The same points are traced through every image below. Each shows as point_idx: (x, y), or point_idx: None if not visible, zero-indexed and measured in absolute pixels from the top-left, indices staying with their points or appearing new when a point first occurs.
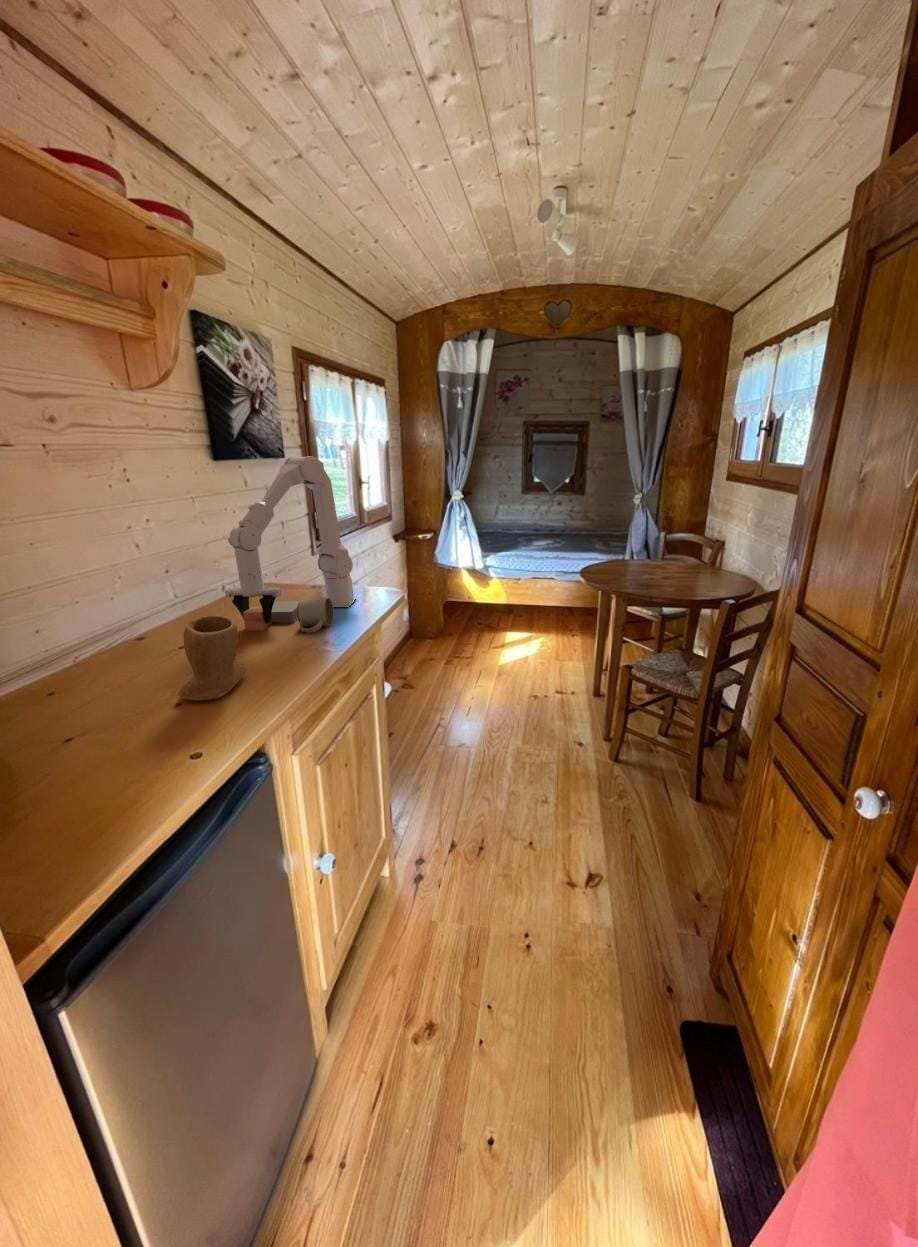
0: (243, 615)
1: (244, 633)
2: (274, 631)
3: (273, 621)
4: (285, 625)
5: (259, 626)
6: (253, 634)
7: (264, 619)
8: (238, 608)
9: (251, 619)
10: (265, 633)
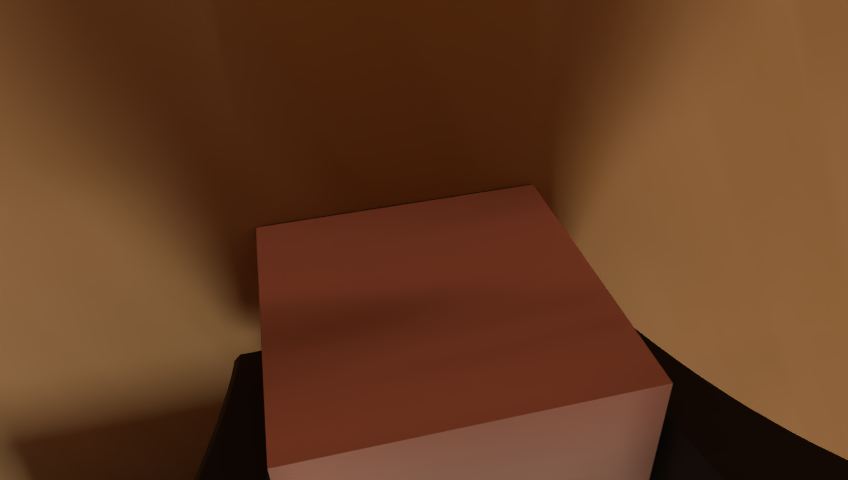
0: (637, 339)
1: (495, 65)
2: (32, 212)
3: None
4: (70, 430)
5: (323, 254)
6: (313, 35)
7: None
8: (801, 451)
9: (470, 313)
10: (122, 106)
